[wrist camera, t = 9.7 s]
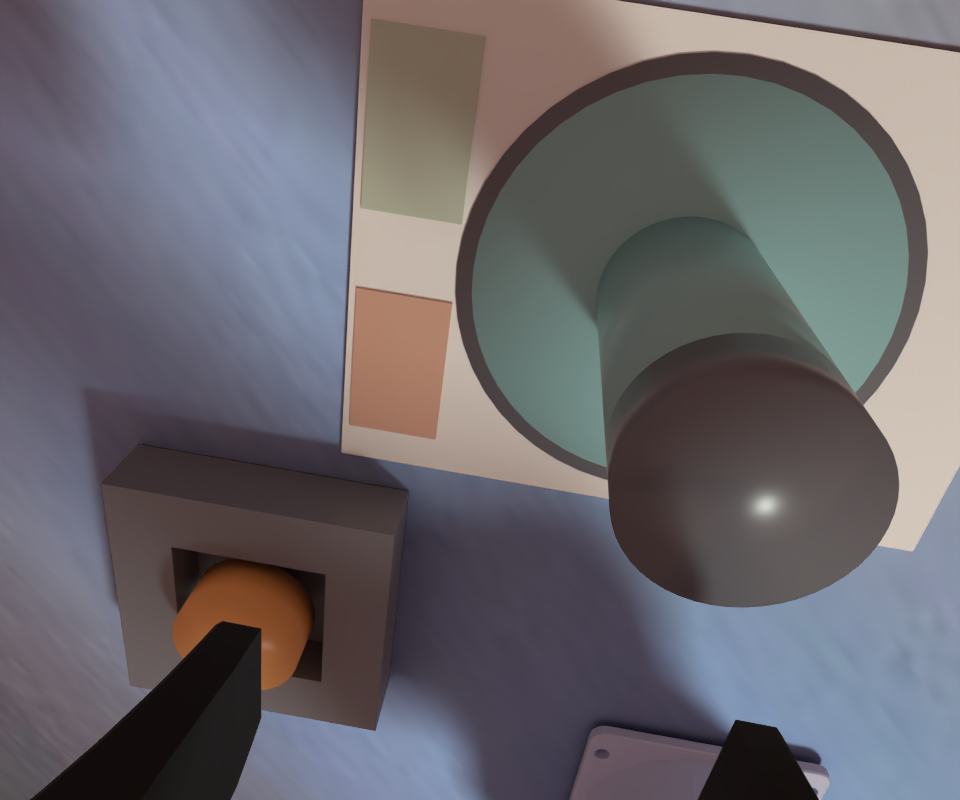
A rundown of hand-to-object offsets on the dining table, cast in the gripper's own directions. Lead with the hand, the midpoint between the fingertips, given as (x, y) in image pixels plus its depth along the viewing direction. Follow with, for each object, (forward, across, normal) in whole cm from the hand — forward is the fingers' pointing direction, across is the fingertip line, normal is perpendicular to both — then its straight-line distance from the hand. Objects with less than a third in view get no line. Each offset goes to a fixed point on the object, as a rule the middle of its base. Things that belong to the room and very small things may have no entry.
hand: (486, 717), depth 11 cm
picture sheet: (+10, -3, -4) cm, 11 cm away
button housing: (+10, +7, +8) cm, 14 cm away
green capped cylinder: (+10, -3, -4) cm, 11 cm away
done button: (+8, +7, +8) cm, 13 cm away
